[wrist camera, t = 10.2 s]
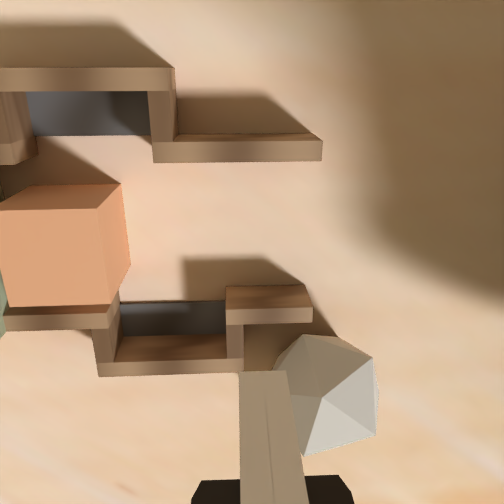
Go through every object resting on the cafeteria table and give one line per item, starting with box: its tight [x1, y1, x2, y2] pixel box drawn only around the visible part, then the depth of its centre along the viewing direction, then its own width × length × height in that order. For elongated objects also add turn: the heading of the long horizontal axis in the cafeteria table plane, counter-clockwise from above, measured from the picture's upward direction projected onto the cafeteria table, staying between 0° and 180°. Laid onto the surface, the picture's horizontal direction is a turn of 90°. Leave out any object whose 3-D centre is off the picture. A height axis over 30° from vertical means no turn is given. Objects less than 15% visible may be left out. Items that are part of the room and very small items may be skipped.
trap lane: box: [0, 67, 323, 377], centre depth 28 cm, size 22×20×6 cm
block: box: [0, 184, 131, 307], centre depth 28 cm, size 6×6×6 cm
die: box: [271, 334, 379, 457], centre depth 33 cm, size 8×9×10 cm
